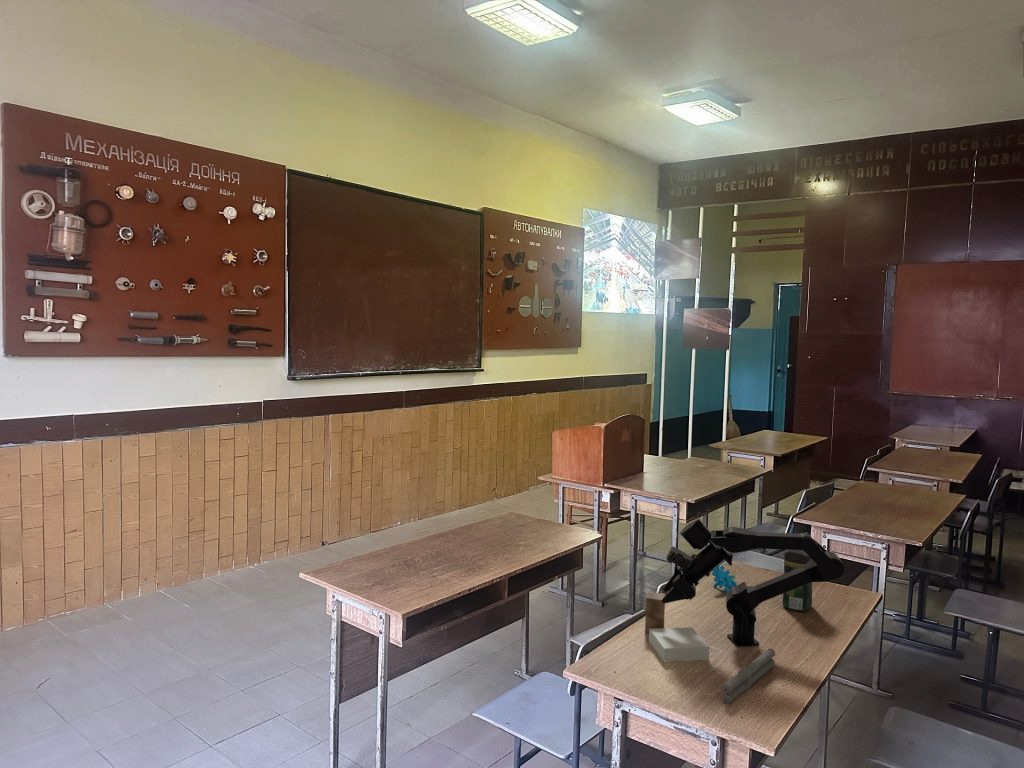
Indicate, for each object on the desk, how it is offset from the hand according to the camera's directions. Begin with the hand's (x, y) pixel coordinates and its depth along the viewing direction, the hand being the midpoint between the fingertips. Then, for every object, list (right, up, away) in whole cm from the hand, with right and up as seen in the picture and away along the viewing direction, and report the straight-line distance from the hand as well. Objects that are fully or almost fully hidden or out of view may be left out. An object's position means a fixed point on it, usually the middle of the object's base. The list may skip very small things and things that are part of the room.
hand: (663, 596), depth 195 cm
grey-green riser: (+1, -11, -11) cm, 16 cm away
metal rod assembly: (+14, -13, -29) cm, 35 cm away
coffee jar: (+46, -10, +20) cm, 51 cm away
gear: (+28, -9, +34) cm, 45 cm away
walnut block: (-2, -10, +1) cm, 10 cm away
